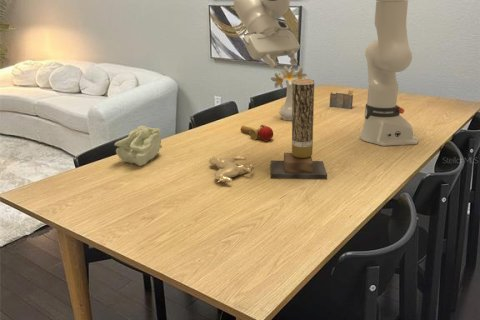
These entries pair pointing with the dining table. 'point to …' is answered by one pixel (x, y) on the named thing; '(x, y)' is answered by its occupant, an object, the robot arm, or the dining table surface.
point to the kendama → (259, 132)
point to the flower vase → (288, 77)
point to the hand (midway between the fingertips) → (285, 65)
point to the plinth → (314, 175)
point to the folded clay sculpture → (139, 145)
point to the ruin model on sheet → (341, 100)
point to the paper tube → (302, 117)
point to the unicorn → (229, 168)
